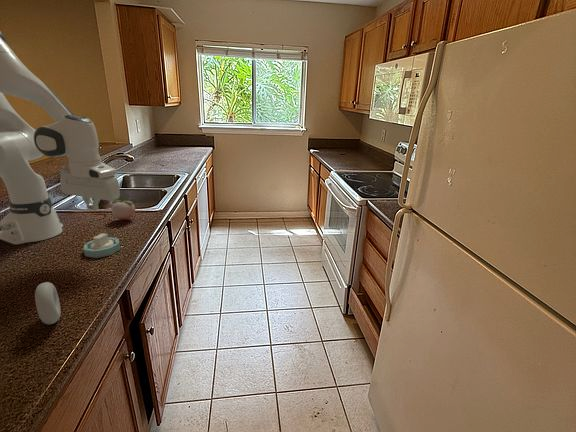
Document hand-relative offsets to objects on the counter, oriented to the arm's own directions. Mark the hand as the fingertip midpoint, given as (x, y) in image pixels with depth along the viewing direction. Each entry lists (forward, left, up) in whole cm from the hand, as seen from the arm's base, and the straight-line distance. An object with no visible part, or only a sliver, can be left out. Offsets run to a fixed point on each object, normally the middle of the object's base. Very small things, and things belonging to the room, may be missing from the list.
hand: (93, 209), depth 105 cm
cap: (+1, 0, -14) cm, 14 cm away
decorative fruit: (-12, +26, -15) cm, 33 cm away
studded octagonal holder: (+1, 0, -15) cm, 15 cm away
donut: (+18, -34, -15) cm, 41 cm away
